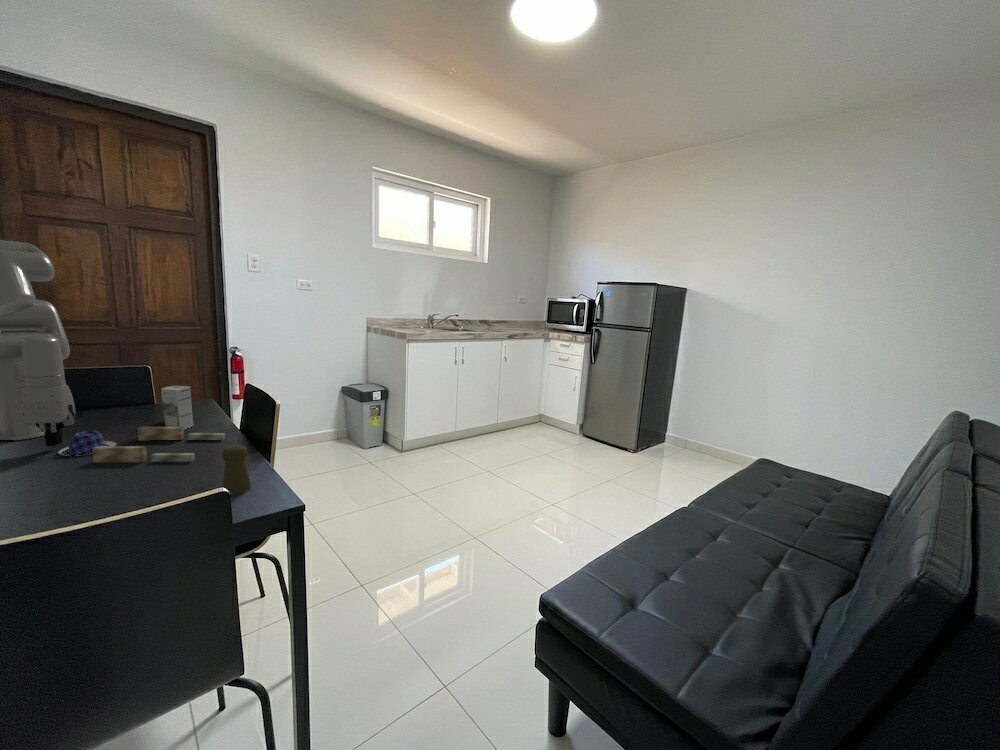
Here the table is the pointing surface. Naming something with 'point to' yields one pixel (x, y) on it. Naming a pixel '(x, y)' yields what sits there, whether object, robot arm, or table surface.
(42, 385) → the robot arm
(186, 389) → the syrup box
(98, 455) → the channel
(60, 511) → the table surface
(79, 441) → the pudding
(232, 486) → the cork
